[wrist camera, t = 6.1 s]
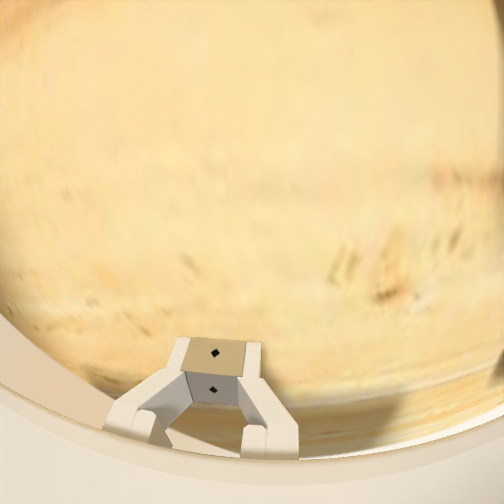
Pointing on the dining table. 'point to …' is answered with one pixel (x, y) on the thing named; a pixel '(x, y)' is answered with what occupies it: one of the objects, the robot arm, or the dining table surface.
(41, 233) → the dining table surface
